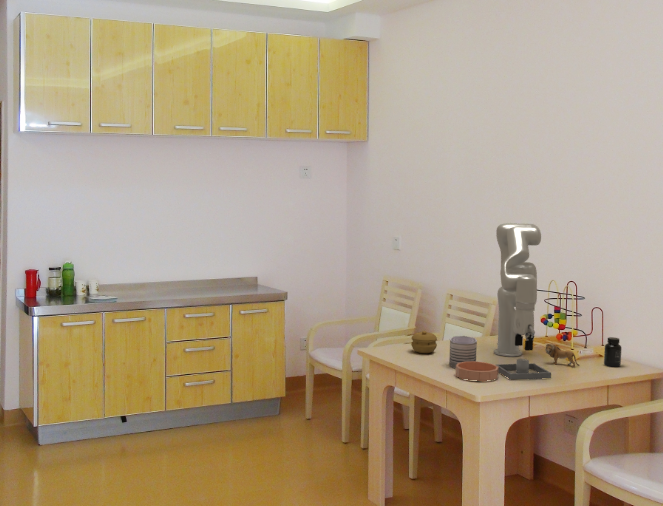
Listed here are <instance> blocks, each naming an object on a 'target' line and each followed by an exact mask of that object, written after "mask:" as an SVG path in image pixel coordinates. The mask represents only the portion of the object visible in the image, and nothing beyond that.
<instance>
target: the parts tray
mask: <svg viewBox="0 0 663 506" xmlns="http://www.w3.org/2000/svg"><path fill="white" fill-rule="evenodd" d="M494 365H496V366H498V367H499V374H500V373H501V374H503V375H504V376H506V377H508V378H509V379H529V380H543V379H542V378H551V379H552V372H551V371H549V370H547V369H545V368H544V367H542V366H540V365H538V364H537V363H535V362H534V363H532V362H531V363H530V362H529V369H533V370H532V371H535V372H529V373H516V372H514V373H512V372H510V371H516V363H501V364H500V363H498V364H494ZM536 371H537V372H536ZM538 372H539V373H538ZM501 374H500V375H501ZM503 375H502V376H503ZM504 376H503V377H504ZM506 377H505V378H506ZM509 379H508V380H509Z"/></svg>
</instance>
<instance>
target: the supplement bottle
mask: <svg viewBox="0 0 663 506" xmlns="http://www.w3.org/2000/svg"><path fill="white" fill-rule="evenodd" d="M606 341H607V343H606V344H605V345H604V353H603V354H604V355H603V365H604V366H605V367H609V368H620V367H621V362H622V350H623V349H622V345H620V338H618V337H611V336H609V337H607V340H606Z"/></svg>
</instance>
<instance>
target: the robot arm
mask: <svg viewBox="0 0 663 506" xmlns="http://www.w3.org/2000/svg"><path fill="white" fill-rule="evenodd" d="M495 232H496V235H495V236H496V240H497V244H498V247H499V251H500V274H499V275H500V282H501V283H500V284H501V286H500V287H499V288H498V290H497V305H498V324H497V326H498V327H497V343H496V344H497V348H495V349H493V354H494V355H496V356H497V355H498V356H502V357H520V356H522V355H523V352H522V351H521V350H519V349H520V347H522V346H523V343H524V351H533V350H534V338H535V334H536V331H535V315H534V314H535V313H534V311H535V308H536V304H537V302H538V301H537V299H538V285H537V284H538V275H537V273H538V272H537V271H538V270H537V266H536V265H535V264H534V263H533V262H528V260H529V258H530V249H529V246H538V245H540V243H541V240H542V233H541V230H540V228H539V226H537V225H536V224H534V223H516V222H515V223H511V222H510V223H508V222H507V223H501V224H499V225H498V226H497V227H496V231H495ZM524 338H525V340H524ZM523 340H524V341H523Z"/></svg>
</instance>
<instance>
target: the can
mask: <svg viewBox="0 0 663 506" xmlns="http://www.w3.org/2000/svg"><path fill="white" fill-rule="evenodd" d="M477 343H478V340H477V339H476V338H475V337H473V336H465V335H459V336H458V335H456V336H453V337H450V338H449V359H448V360H449V361H448V363H449V366H450V368H453V369H456V365H457V364H458V363H461V362H468V361H477V347H478V345H477Z"/></svg>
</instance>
